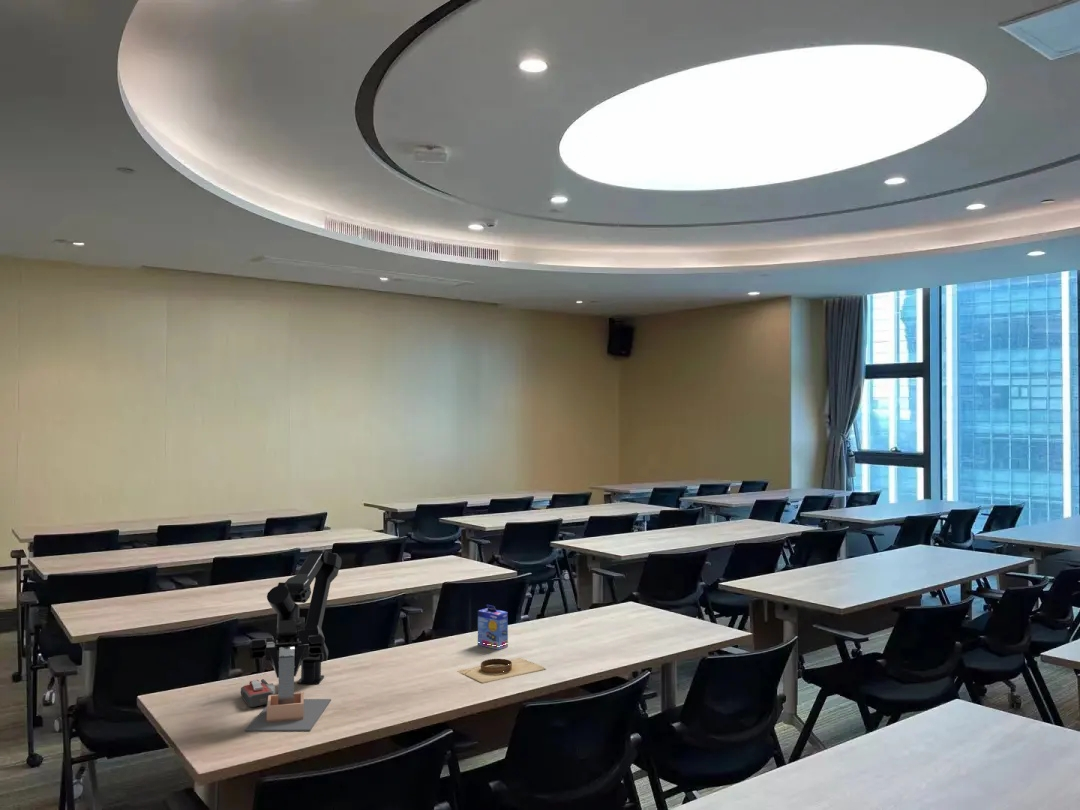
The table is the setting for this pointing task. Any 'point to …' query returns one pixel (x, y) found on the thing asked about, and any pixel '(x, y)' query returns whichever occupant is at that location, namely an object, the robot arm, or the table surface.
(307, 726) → the mat
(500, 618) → the ink cartridge box
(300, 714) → the open box
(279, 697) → the grey block
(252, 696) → the grey red device
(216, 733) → the table surface
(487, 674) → the board
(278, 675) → the robot arm
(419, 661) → the table surface
